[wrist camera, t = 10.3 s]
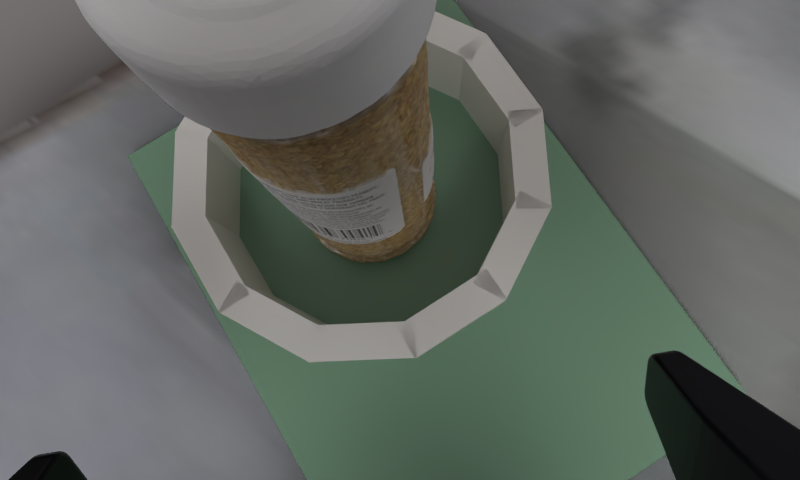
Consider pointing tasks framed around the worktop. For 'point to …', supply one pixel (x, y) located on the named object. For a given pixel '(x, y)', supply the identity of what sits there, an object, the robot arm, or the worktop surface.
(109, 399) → the worktop surface
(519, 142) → the practice green
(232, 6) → the sprinkles bottle
